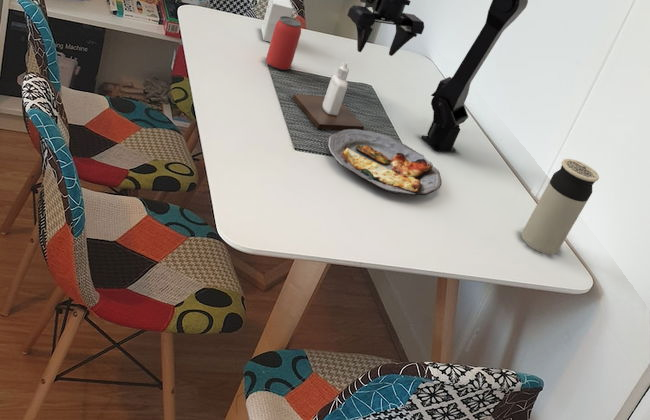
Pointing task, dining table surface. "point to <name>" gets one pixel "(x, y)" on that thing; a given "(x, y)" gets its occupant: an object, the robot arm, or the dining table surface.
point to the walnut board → (326, 114)
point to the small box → (274, 16)
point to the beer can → (284, 43)
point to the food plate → (385, 162)
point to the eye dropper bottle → (336, 91)
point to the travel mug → (559, 206)
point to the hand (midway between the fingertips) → (374, 53)
